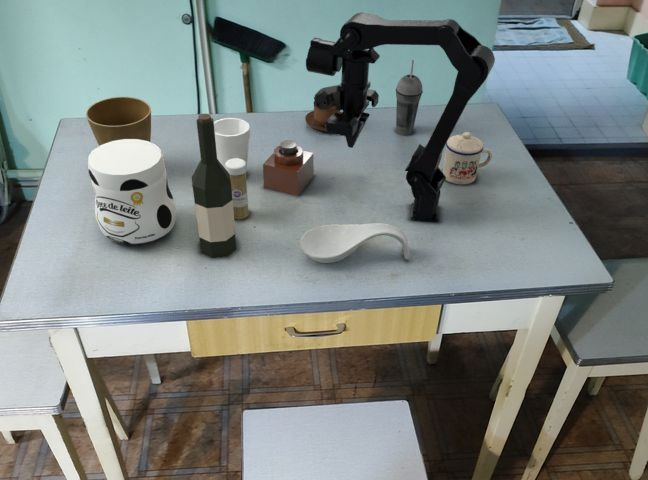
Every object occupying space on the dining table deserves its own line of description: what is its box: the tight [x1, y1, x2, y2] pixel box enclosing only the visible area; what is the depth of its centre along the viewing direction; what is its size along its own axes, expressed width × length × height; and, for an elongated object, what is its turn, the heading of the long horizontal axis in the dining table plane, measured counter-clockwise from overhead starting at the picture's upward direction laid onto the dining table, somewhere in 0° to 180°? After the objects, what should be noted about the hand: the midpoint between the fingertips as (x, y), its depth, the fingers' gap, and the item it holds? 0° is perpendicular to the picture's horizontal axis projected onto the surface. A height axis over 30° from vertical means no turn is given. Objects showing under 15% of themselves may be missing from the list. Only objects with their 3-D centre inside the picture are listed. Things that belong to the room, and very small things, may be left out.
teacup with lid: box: [442, 131, 493, 185], centre depth 167 cm, size 12×9×12 cm
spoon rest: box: [299, 222, 411, 264], centre depth 143 cm, size 24×12×7 cm, turn 93°
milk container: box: [87, 139, 177, 246], centre depth 145 cm, size 17×17×18 cm
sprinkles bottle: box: [225, 158, 250, 220], centre depth 151 cm, size 5×5×14 cm
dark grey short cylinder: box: [279, 139, 298, 156], centre depth 160 cm, size 4×4×2 cm
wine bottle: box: [191, 113, 238, 259], centre depth 136 cm, size 8×8×30 cm
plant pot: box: [85, 96, 152, 147], centre depth 163 cm, size 15×15×16 cm
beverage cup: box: [395, 59, 424, 136], centre depth 180 cm, size 7×7×20 cm
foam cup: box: [214, 117, 251, 173], centre depth 164 cm, size 10×9×13 cm
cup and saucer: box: [304, 104, 343, 132], centre depth 187 cm, size 12×12×6 cm
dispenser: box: [262, 145, 314, 197], centre depth 164 cm, size 9×10×8 cm
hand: (350, 146), depth 154 cm, fingers closed
